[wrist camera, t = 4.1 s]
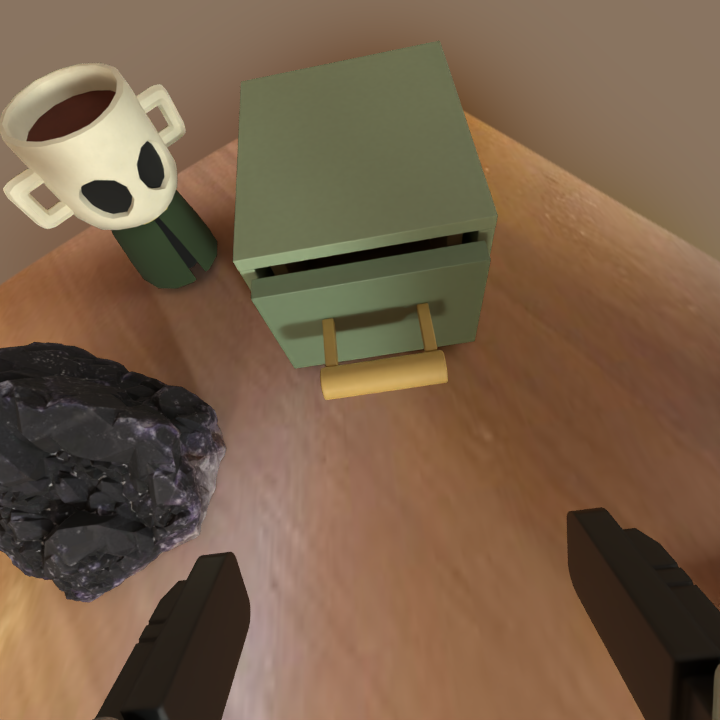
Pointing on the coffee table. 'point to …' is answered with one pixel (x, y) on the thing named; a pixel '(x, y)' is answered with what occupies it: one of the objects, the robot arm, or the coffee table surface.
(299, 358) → the drawer
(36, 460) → the black rock
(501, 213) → the coffee table surface
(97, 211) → the character mug
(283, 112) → the cabinet
